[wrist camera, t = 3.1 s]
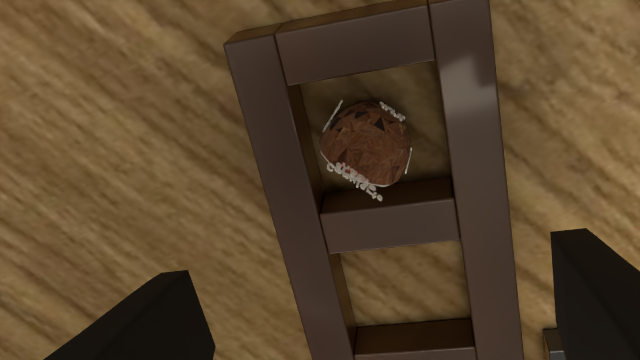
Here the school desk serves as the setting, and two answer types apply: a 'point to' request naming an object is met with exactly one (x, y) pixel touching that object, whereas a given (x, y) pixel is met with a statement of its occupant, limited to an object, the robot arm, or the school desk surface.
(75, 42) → the school desk surface
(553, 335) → the board
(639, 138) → the school desk surface
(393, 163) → the chocolate
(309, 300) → the rack
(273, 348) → the school desk surface
